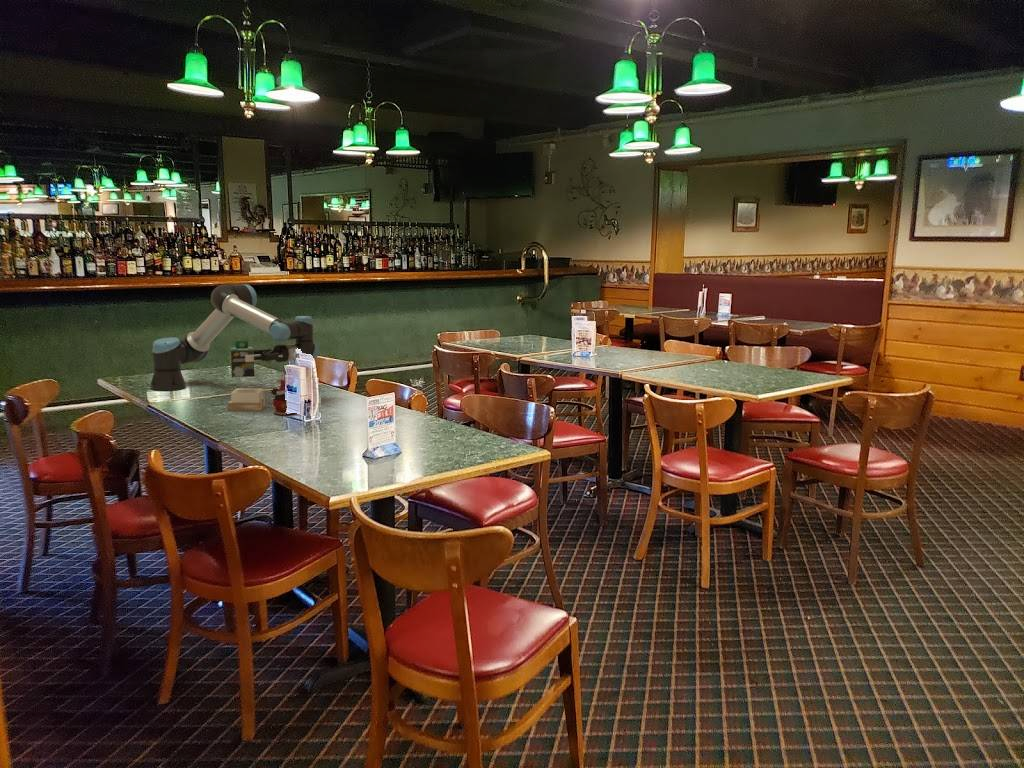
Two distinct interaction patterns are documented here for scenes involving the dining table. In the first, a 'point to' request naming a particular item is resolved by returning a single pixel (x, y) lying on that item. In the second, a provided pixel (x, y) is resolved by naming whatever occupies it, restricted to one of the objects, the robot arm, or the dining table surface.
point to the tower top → (246, 395)
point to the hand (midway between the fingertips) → (238, 357)
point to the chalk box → (241, 360)
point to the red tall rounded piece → (279, 397)
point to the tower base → (246, 406)
